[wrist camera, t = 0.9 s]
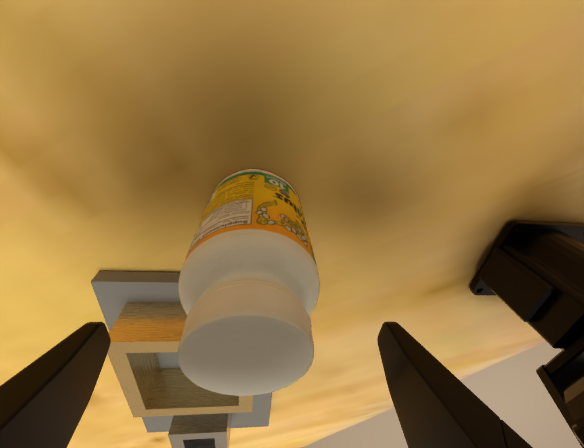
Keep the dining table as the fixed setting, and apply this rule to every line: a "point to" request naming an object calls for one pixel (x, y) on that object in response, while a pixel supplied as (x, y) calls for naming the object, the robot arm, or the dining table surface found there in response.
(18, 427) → the robot arm
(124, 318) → the square wooden frame
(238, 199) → the supplement bottle
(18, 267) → the dining table surface
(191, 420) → the steel collar
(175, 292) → the fitting board
